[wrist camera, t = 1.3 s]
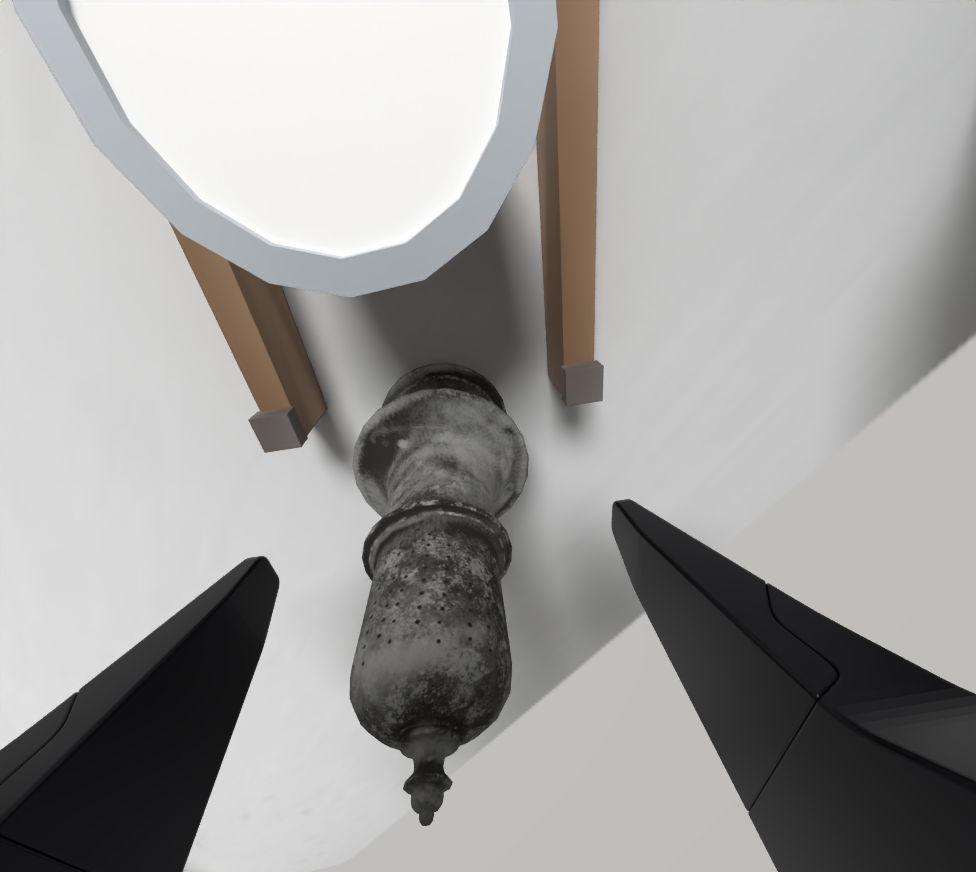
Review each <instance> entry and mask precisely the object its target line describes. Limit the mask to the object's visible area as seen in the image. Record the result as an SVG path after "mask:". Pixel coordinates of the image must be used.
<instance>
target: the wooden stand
mask: <svg viewBox="0 0 976 872" xmlns="http://www.w3.org/2000/svg"><path fill="white" fill-rule="evenodd" d="M556 9H557V22H558V29H557V34H556V39H555V44H554V49H553V54H552V59H551V64H550V69H549V75H548V80H547V85H546V90H545V95H544V100H543V105H542V110H541V115H540V121H539V126H538V131H537V136H536V139H537V159H538V180H539V200H540V220H541V240H542V260H543V280H544V301H545V321H546V341H547V361H548V375H549V377H550V378H551V380H552V381H553V383H554V384H555V385H556V387H557V388H558V390H559V391H560V393H561V394H562V400H563V402H564V403H565V405H566V406H572V405H579V404H585V403H592V402H598V401H603V368H604V366H603V365H602V364H601V363H599V362H598V361H597V360H596V361H594V322H595V255H596V188H597V121H598V53H599V0H556ZM169 222H170V221H169ZM170 224H171V223H170ZM171 227H172V229H173V231H174V233H175V235H176V237H177V239H178V241H179V243H180V245H181V247H182V249H183V251H184V254H185V256H186V258H187V260H188V262H189V264H190V266H191V268H192V270H193V272H194V274H195V276H196V278H197V281H198V283H199V285H200V287H201V289H202V291H203V293H204V295H205V297H206V299H207V301H208V303H209V305H210V308H211V310H212V312H213V314H214V316H215V318H216V320H217V322H218V324H219V326H220V328H221V330H222V332H223V335H224V337H225V339H226V341H227V343H228V345H229V347H230V349H231V351H232V353H233V355H234V357H235V359H236V362H237V364H238V366H239V368H240V370H241V372H242V374H243V376H244V378H245V380H246V382H247V384H248V386H249V389H250V391H251V393H252V395H253V397H254V399H255V401H256V403H257V405H258V407H259V409H260V412H257V413H256V414H255V415H253V416H252V417H251V418H250V419H249V422H250V424H251V426H252V428H253V430H254V432H255V434H256V436H257V438H258V440H259V442H260V444H261V446H262V448H263V450H264V452H265V453H266V452H272V451H279V450H285V449H292V448H298V447H302V445H303V444H304V443H305V441H306V440H307V439H308V437H307V435H308V434H309V432H310V431H311V430H312V428H313V427H314V426H315V424H316V423H317V422H318V420H319V419H320V418H321V416H322V415H323V414H324V412H325V411H326V409H327V407H326V404H325V401H324V399H323V396H322V393H321V391H320V388H319V386H318V383H317V380H316V378H315V375H314V372H313V370H312V367H311V365H310V362H309V359H308V357H307V354H306V351H305V349H304V346H303V343H302V341H301V338H300V336H299V333H298V330H297V328H296V325H295V322H294V320H293V317H292V315H291V312H290V309H289V307H288V304H287V301H286V299H285V296H284V294H283V291H282V288H281V286H280V285H276V284H270V283H268V282H266V281H264V280H262V279H261V278H259V277H257V276H255V275H253V274H252V273H250V272H248V271H246V270H245V269H243V268H241V267H239V266H238V265H236V264H234V263H232V262H230V261H229V260H227V259H225V258H223V257H222V256H220V255H218V254H216V253H215V252H213V251H211V250H209V249H207V248H206V247H204V246H202V245H200V244H199V243H197V242H195V241H193V240H192V239H190V238H188V237H186V236H184V235H183V234H181V233H180V232H179V231H178V230H177V229H176V228H175V227H174V226H173V225H172V224H171Z"/></svg>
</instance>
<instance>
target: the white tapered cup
mask: <svg viewBox="0 0 976 872" xmlns="http://www.w3.org/2000/svg"><path fill="white" fill-rule="evenodd" d="M12 2H13V5H14V8H15V12H16V14H17V15H18V17H19V19H20V20H21V22H22V24H23V25H24V27H25V29H26V30H27V32H28V34H29V36H30V37H31V39H32V41H33V42H34V44H35V46H36V47H37V49H38V51H39V52H40V54H41V56H42V58H43V59H44V61H45V63H46V64H47V66H48V68H49V69H50V71H51V73H52V74H53V76H54V78H55V80H56V81H57V83H58V85H59V86H60V88H61V90H62V91H63V93H64V95H65V97H66V98H67V100H68V102H69V103H70V105H71V107H72V108H73V110H74V112H75V113H76V115H77V117H78V119H79V120H80V122H81V124H82V125H83V127H84V129H85V130H86V132H87V134H88V135H89V137H90V139H91V141H92V142H93V144H94V145H95V146H96V147H97V148H98V149H99V151H100V152H101V153H102V154H103V155H104V156H105V157H106V158H107V159H108V160H109V161H110V162H111V163H112V164H113V165H114V166H115V167H116V168H117V169H118V170H119V171H120V172H121V173H122V174H123V175H124V176H125V177H126V178H127V179H128V180H129V181H130V182H131V183H132V184H133V185H134V186H135V187H136V188H137V189H138V190H139V191H140V192H141V193H142V194H143V195H144V196H145V197H146V198H147V199H148V200H149V201H150V202H151V203H152V204H153V205H154V206H155V207H156V208H157V209H158V210H159V211H160V212H161V213H162V214H163V215H164V216H165V217H166V218H167V219H168V220H169V221H170V223H171V224H172V225H173V226H174V227H175V228H176V229H177V230H178V231H179V232H180V233H181V234H183V235H184V236H186V237H188V238H190V239H192V240H193V241H195V242H197V243H199V244H200V245H202V246H204V247H206V248H207V249H209V250H211V251H213V252H215V253H216V254H218V255H220V256H222V257H223V258H225V259H227V260H229V261H230V262H232V263H234V264H236V265H238V266H239V267H241V268H243V269H245V270H246V271H248V272H250V273H252V274H253V275H255V276H257V277H259V278H261V279H262V280H264V281H266V282H268V283H270V284H276V285H282V286H287V287H293V288H299V289H304V290H310V291H316V292H321V293H327V294H333V295H338V296H344V297H350V298H351V297H356V296H360V295H364V294H368V293H372V292H377V291H381V290H385V289H389V288H393V287H397V286H402V285H406V284H410V283H414V282H418V281H423V280H425V279H426V278H428V277H429V276H430V275H431V274H433V273H434V272H435V271H437V270H438V269H439V268H440V267H442V266H443V265H444V264H445V263H447V262H448V261H449V260H450V259H452V258H453V257H454V256H456V255H457V254H458V253H459V252H461V251H462V250H463V249H464V248H466V247H467V246H468V245H469V244H471V243H472V242H473V241H475V240H476V239H477V238H478V237H480V236H481V235H482V234H483V233H485V232H486V231H487V230H488V228H489V226H490V225H491V223H492V221H493V219H494V218H495V216H496V214H497V212H498V210H499V209H500V207H501V205H502V203H503V202H504V200H505V198H506V196H507V195H508V193H509V191H510V189H511V187H512V186H513V184H514V182H515V180H516V179H517V177H518V175H519V173H520V171H521V170H522V168H523V166H524V164H525V163H526V161H527V159H528V157H529V156H530V154H531V152H532V150H533V148H534V146H535V141H536V136H537V131H538V126H539V121H540V115H541V110H542V105H543V100H544V95H545V90H546V85H547V80H548V75H549V69H550V64H551V59H552V54H553V49H554V44H555V39H556V34H557V29H558V22H557V9H556V0H12Z"/></svg>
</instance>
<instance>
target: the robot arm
mask: <svg viewBox="0 0 976 872" xmlns="http://www.w3.org/2000/svg"><path fill="white" fill-rule="evenodd" d="M612 532H613V535H614V538H615V540H616V543H617V545H618V548H619V551H620V553H621V556H622V559H623V561H624V564H625V567H626V569H627V572H628V575H629V577H630V580H631V582H632V585H633V587H634V590H635V592H636V594H637V596H638V598H639V600H640V602H641V604H642V606H643V608H644V610H645V612H646V614H647V616H648V618H649V619H650V622H651V623H652V625H653V627H654V629H655V631H656V633H657V635H658V637H659V639H660V641H661V643H662V645H663V647H664V649H665V651H666V653H667V655H668V657H669V659H670V661H671V662H672V665H673V667H674V669H675V671H676V672H677V674H678V676H679V678H680V680H681V682H682V684H683V686H684V688H685V690H686V692H687V694H688V696H689V698H690V700H691V702H692V704H693V706H694V708H695V710H696V712H697V714H698V715H699V718H700V720H701V722H702V723H703V725H704V727H705V729H706V731H707V733H708V735H709V737H710V739H711V741H712V743H713V745H714V747H715V749H716V751H717V753H718V755H719V757H720V759H721V761H722V763H723V765H724V766H725V769H726V770H727V773H728V774H729V776H730V778H731V780H732V782H733V784H734V786H735V788H736V790H737V792H738V794H739V796H740V798H741V800H742V802H743V803H744V806H745V808H746V809H747V810H748V811H749V816H750V818H751V820H752V822H753V824H754V826H755V828H756V830H757V832H758V834H759V836H760V838H761V840H762V841H763V844H764V845H765V847H766V850H767V851H768V853H769V855H770V857H771V859H772V861H773V863H774V865H775V867H776V869H777V871H778V872H976V694H974V693H972V692H970V691H967V690H965V689H963V688H961V687H959V686H957V685H955V684H952V683H950V682H948V681H946V680H944V679H942V678H940V677H938V676H937V675H935V674H933V673H931V672H929V671H927V670H925V669H923V668H921V667H920V666H918V665H916V664H914V663H912V662H910V661H908V660H906V659H904V658H902V657H901V656H899V655H897V654H895V653H893V652H891V651H889V650H887V649H885V648H883V647H881V646H880V645H877V644H876V643H874V642H872V641H870V640H868V639H866V638H864V637H862V636H860V635H859V634H857V633H855V632H853V631H851V630H849V629H847V628H846V627H843V626H842V625H840V624H838V623H836V622H835V621H833V620H831V619H829V618H827V617H825V616H824V615H822V614H820V613H818V612H816V611H814V610H813V609H811V608H809V607H808V606H806V605H804V604H802V603H801V602H799V601H797V600H795V599H794V598H792V597H791V596H789V595H787V594H785V593H784V592H782V591H780V590H779V589H777V588H776V587H774V586H772V585H771V584H769V583H767V584H766V583H765V581H764V580H762V579H761V578H759V577H757V576H756V575H754V574H752V573H751V572H749V571H747V570H746V569H744V568H742V567H741V566H739V565H738V564H736V563H734V562H733V561H731V560H729V559H728V558H726V557H724V556H723V555H721V554H719V553H718V552H716V551H715V550H713V549H711V548H710V547H708V546H706V545H705V544H703V543H701V542H700V541H698V540H696V539H695V538H693V537H691V536H690V535H688V534H687V533H685V532H683V531H682V530H680V529H678V528H677V527H675V526H673V525H672V524H670V523H668V522H667V521H665V520H664V519H662V518H660V517H659V516H657V515H655V514H654V513H652V512H650V511H649V510H647V509H645V508H644V507H642V506H640V505H639V504H637V503H636V502H634V501H632V500H630V499H625V500H619V501H615V502H614V503H613V506H612ZM278 589H279V577H278V575H277V574H276V572H275V570H274V569H273V567H272V565H271V564H270V562H269V560H268V559H267V558H266V557H264V556H258V557H251V558H247V559H245V560H244V561H243V562H241V563H240V564H239V565H237V566H236V567H235V568H234V569H232V570H231V571H230V572H228V573H227V574H226V575H225V576H223V577H222V578H221V579H220V580H218V581H217V582H216V583H214V584H213V585H212V586H211V587H209V588H208V589H207V590H206V591H204V592H203V593H202V594H200V595H199V596H198V597H197V598H195V599H194V600H193V601H192V602H190V603H189V604H188V605H186V606H185V607H184V608H183V609H181V610H180V611H179V612H177V613H176V614H175V615H174V616H172V617H171V618H170V619H169V620H167V621H166V622H165V623H163V624H162V625H161V626H160V627H158V628H157V629H156V630H155V631H153V632H152V633H151V634H149V635H148V636H147V637H146V638H144V639H143V640H142V641H141V642H139V643H138V644H137V645H135V646H134V647H133V648H132V649H130V650H129V651H128V652H126V653H125V654H124V655H123V656H121V657H120V658H119V659H118V660H116V661H115V662H114V663H112V664H111V665H110V666H109V667H107V668H106V669H105V670H104V671H102V672H101V673H100V674H98V675H97V676H96V677H95V678H93V679H92V680H91V681H89V682H88V683H87V684H86V685H84V686H83V687H82V688H81V689H80V690H79V692H77V693H74V694H73V695H71V696H70V697H69V698H68V699H66V700H65V701H64V702H63V703H61V704H60V705H59V706H58V707H56V708H55V709H54V710H52V711H51V712H50V713H49V714H47V715H46V716H45V717H43V718H42V719H41V720H39V721H38V722H37V723H36V724H34V725H33V726H32V727H30V728H29V729H28V730H26V731H25V732H24V733H23V734H21V735H20V736H19V737H17V738H16V739H15V740H13V741H12V742H11V743H9V744H8V745H7V746H5V747H4V748H3V749H1V750H0V872H183V869H184V867H185V864H186V861H187V858H188V855H189V853H190V850H191V847H192V844H193V842H194V839H195V836H196V833H197V830H198V828H199V825H200V822H201V819H202V817H203V814H204V811H205V808H206V806H207V803H208V800H209V797H210V794H211V792H212V789H213V786H214V783H215V781H216V778H217V775H218V772H219V770H220V767H221V764H222V761H223V758H224V756H225V753H226V750H227V747H228V745H229V742H230V739H231V736H232V733H233V731H234V728H235V725H236V722H237V720H238V717H239V714H240V711H241V709H242V706H243V703H244V700H245V697H246V695H247V692H248V689H249V686H250V684H251V681H252V678H253V675H254V673H255V670H256V667H257V664H258V661H259V659H260V656H261V653H262V650H263V647H264V643H265V640H266V636H267V632H268V628H269V625H270V621H271V617H272V613H273V609H274V605H275V601H276V597H277V593H278Z"/></svg>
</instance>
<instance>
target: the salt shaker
mask: <svg viewBox="0 0 976 872" xmlns="http://www.w3.org/2000/svg"><path fill="white" fill-rule="evenodd" d="M353 470H354V475H355V479H356V483H357V486H358V488H359V490H360V492H361V493H362V495H363V497H364V498H365V500H366V502H367V503H368V504H369V505H370V506H371V507H372V508H373V509H374V510H375V511H376V512H377V513H378V514H379V515H380V516H381V517H383V518H382V519H381V520H380V521H379V522H378V523H376V524H375V525H374V526H373V527H372V529H371V531H370V533H369V534H368V536H367V538H366V540H365V542H364V548H363V555H362V559H363V563H364V567H365V571H366V573H367V574H368V576H369V577H370V579H371V580H372V585H371V589H370V594H369V598H368V602H367V606H366V610H365V615H364V619H363V623H362V627H361V631H360V636H359V640H358V644H357V648H356V653H355V657H354V661H353V665H352V670H351V677H350V700H351V703H352V706H353V708H354V711H355V713H356V715H357V717H358V720H359V722H360V724H361V725H362V726H363V727H364V728H365V729H366V731H367V732H368V733H370V734H371V735H372V736H374V737H375V738H376V739H377V740H379V741H380V742H381V743H383V744H385V745H387V746H389V747H391V748H395V749H398V750H400V751H401V753H402V754H403V755H404V756H406V757H408V758H411V759H413V761H414V772H413V774H412V775H411V776H410V777H409V778H408V779H407V780H406V782H405V784H404V787H403V790H404V791H406V792H407V793H408V794H411V806H412V808H413V810H414V811H415V812H416V813H418V814H419V821H420V823H421V824H422V826H427V825H430V824H431V822H432V821H433V817H434V812H436V811H438V809H439V808H440V807H441V805H442V802H443V797H444V792H445V791H447V790H449V789H450V787H451V785H452V781H451V780H450V778H449V777H448V776H447V775H446V774H445V772H444V768H443V765H444V759H445V757H447V756H449V755H451V754H453V753H454V752H455V751H456V750H457V749H458V747H459V746H460V745H463V744H466V743H468V742H469V741H471V740H473V739H475V738H476V737H477V736H479V735H480V734H481V733H482V732H483V731H484V730H486V729H487V728H488V727H489V726H490V725H491V724H492V723H493V722H494V721H495V720H496V719H497V718H498V716H499V714H500V712H501V710H502V708H503V706H504V704H505V702H506V700H507V698H508V696H509V694H510V690H511V675H512V661H511V653H510V646H509V639H508V632H507V624H506V617H505V610H504V602H503V595H502V588H501V579H502V578H503V576H504V575H505V574H506V572H507V570H508V567H509V565H510V562H511V552H512V546H511V542H510V539H509V537H508V534H507V531H506V530H505V528H504V527H503V526H502V525H501V523H500V522H499V521H498V520H497V519H498V518H499V517H500V516H501V515H503V514H504V513H505V512H506V511H507V510H509V509H510V508H511V506H512V505H513V504H514V502H515V501H516V499H517V498H518V497H519V495H520V494H521V492H522V489H523V487H524V484H525V481H526V478H527V476H528V453H527V449H526V446H525V442H524V438H523V436H522V434H521V433H520V431H519V429H518V428H517V426H516V425H515V423H514V422H513V420H512V419H511V418H510V417H509V416H508V415H507V414H506V410H505V407H504V403H503V400H502V398H501V396H500V395H499V393H498V392H497V390H496V388H495V387H494V386H493V385H492V384H491V383H490V382H489V381H488V380H487V379H486V378H484V377H483V376H482V375H480V374H479V373H477V372H475V371H473V370H471V369H469V368H467V367H462V366H458V365H453V364H431V365H427V366H424V367H421V368H417V369H414V370H413V371H411V372H410V373H408V374H406V375H405V376H403V377H402V378H400V379H399V380H398V381H397V383H396V384H395V385H394V386H393V387H392V388H391V389H390V390H389V392H388V395H387V397H386V399H385V401H384V403H383V406H382V408H380V409H378V411H377V412H376V413H375V414H374V415H373V416H372V417H371V418H370V420H369V421H368V422H367V423H366V424H365V425H364V426H363V429H362V431H361V433H360V435H359V438H358V440H357V442H356V444H355V446H354V457H353Z"/></svg>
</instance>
